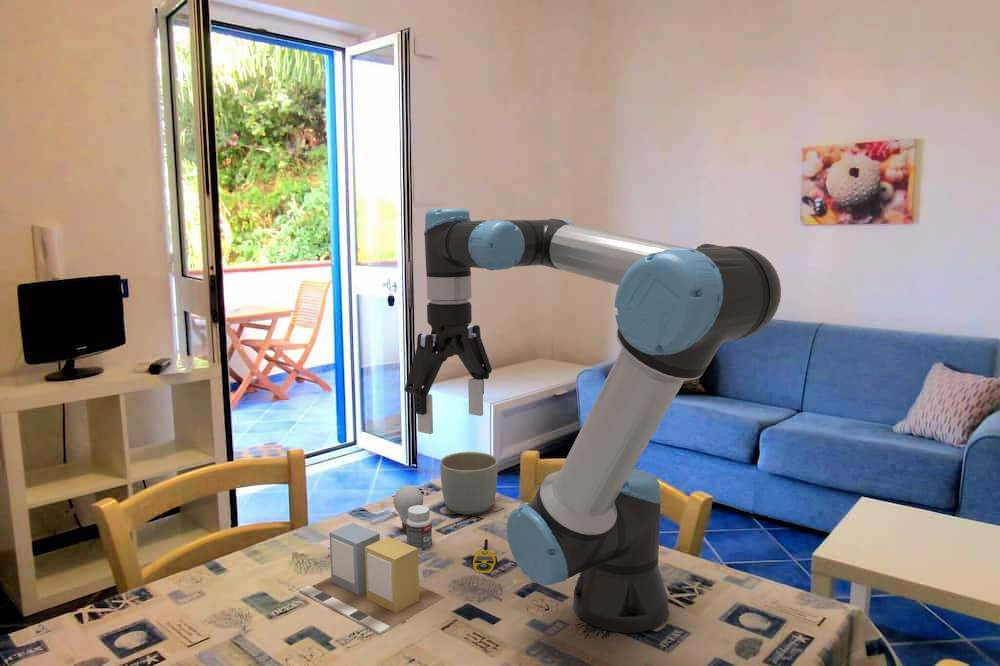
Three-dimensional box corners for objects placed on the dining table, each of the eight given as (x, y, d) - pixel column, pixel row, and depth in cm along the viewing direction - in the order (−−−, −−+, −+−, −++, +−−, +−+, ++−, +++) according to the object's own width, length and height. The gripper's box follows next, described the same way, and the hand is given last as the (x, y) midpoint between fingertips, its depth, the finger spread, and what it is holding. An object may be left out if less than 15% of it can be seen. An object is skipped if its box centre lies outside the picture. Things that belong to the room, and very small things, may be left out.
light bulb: (392, 529, 149) (390, 482, 148) (420, 526, 151) (419, 479, 149) (397, 542, 144) (395, 493, 142) (426, 538, 146) (425, 489, 144)
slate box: (354, 571, 130) (352, 522, 128) (381, 583, 125) (379, 533, 124) (330, 582, 126) (328, 532, 124) (357, 595, 121) (355, 544, 120)
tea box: (389, 586, 124) (387, 536, 123) (419, 600, 120) (417, 548, 118) (365, 599, 120) (363, 547, 119) (395, 613, 116) (393, 560, 114)
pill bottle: (427, 557, 137) (427, 515, 136) (403, 555, 138) (402, 513, 137) (435, 546, 142) (434, 505, 140) (411, 544, 143) (410, 503, 141)
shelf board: (444, 603, 121) (444, 594, 121) (380, 642, 110) (380, 631, 110) (364, 567, 133) (364, 558, 133) (299, 598, 123) (299, 589, 123)
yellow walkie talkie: (469, 571, 129) (474, 534, 144) (469, 581, 129) (474, 543, 144) (497, 571, 129) (498, 534, 143) (496, 582, 129) (498, 543, 144)
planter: (474, 493, 168) (473, 448, 167) (509, 510, 159) (509, 461, 157) (429, 507, 161) (428, 459, 159) (464, 525, 151) (463, 475, 149)
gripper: (477, 293, 137) (478, 405, 140) (380, 307, 117) (384, 436, 120) (510, 295, 132) (511, 410, 135) (415, 310, 112) (419, 444, 116)
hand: (451, 423), depth 128 cm, fingers open, 13 cm apart
